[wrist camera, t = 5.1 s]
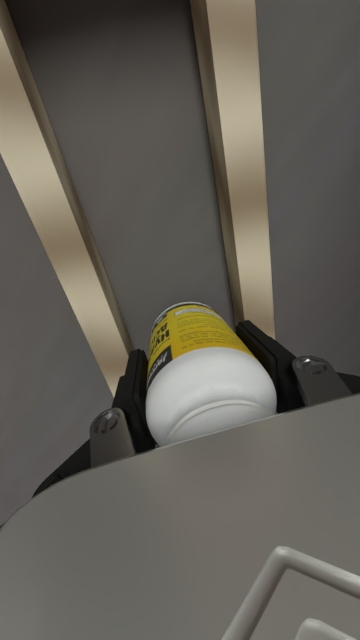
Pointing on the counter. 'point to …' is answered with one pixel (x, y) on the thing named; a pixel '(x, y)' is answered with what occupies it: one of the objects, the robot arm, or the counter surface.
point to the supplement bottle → (201, 376)
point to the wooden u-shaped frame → (228, 163)
